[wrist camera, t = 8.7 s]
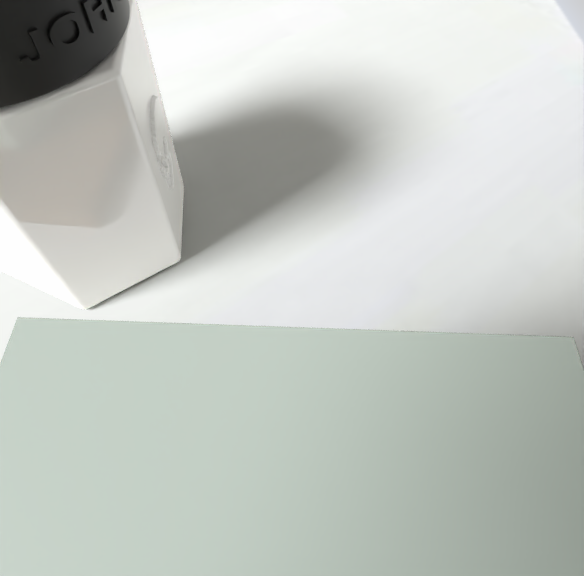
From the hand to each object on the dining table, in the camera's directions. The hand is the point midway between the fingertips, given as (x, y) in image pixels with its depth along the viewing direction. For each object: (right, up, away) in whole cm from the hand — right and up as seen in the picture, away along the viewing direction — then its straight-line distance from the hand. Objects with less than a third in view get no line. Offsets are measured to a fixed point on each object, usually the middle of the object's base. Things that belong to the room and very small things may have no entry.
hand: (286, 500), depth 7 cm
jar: (-9, +6, +14) cm, 18 cm away
